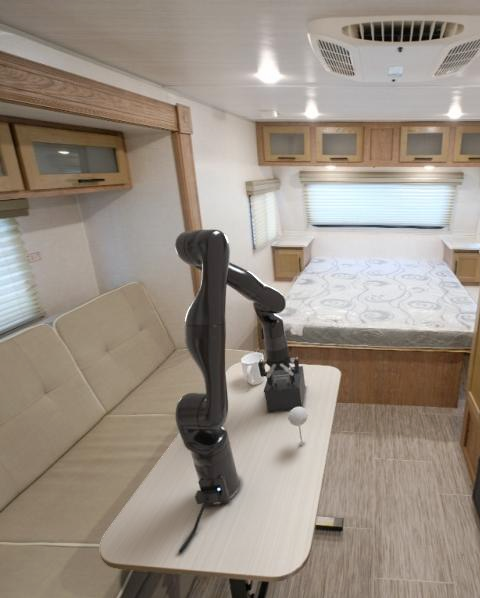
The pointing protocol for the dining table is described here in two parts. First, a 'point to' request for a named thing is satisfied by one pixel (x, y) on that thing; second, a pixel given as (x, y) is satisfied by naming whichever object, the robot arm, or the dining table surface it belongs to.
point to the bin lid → (283, 381)
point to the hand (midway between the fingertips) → (282, 383)
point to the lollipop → (298, 418)
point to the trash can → (286, 398)
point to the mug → (252, 367)
